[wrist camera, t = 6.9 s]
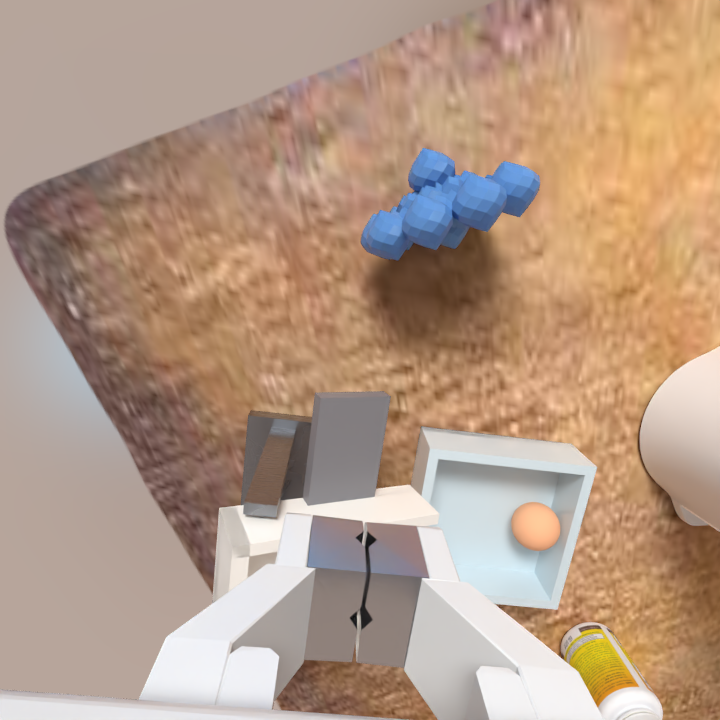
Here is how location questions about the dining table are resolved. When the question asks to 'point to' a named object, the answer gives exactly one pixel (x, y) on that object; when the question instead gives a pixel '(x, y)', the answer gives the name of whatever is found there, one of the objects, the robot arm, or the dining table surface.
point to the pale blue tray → (503, 508)
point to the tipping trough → (324, 487)
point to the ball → (535, 526)
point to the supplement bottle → (609, 674)
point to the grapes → (447, 205)
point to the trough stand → (274, 461)
